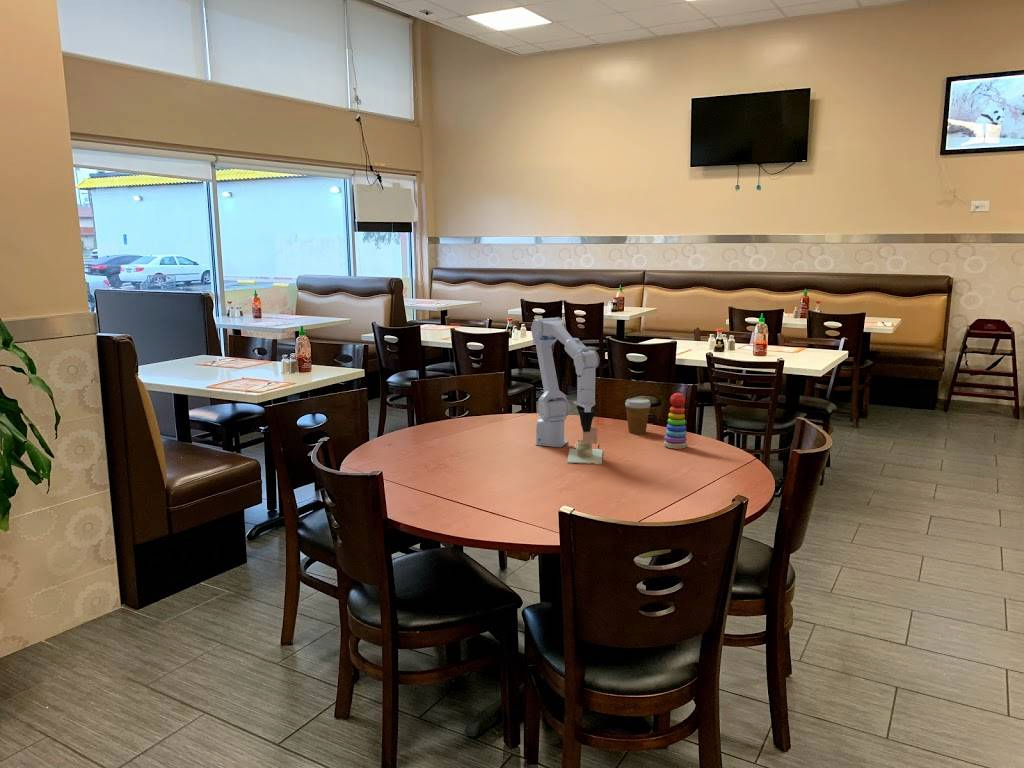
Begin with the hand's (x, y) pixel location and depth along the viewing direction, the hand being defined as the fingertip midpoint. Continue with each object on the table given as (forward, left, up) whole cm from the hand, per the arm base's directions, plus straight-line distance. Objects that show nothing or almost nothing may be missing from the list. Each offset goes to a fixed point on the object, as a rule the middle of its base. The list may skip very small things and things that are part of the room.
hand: (585, 429), depth 248 cm
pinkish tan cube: (+1, 0, -4) cm, 4 cm away
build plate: (0, 0, -9) cm, 9 cm away
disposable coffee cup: (+8, +40, -10) cm, 42 cm away
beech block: (0, 0, -9) cm, 9 cm away
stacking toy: (+25, +24, -10) cm, 36 cm away
